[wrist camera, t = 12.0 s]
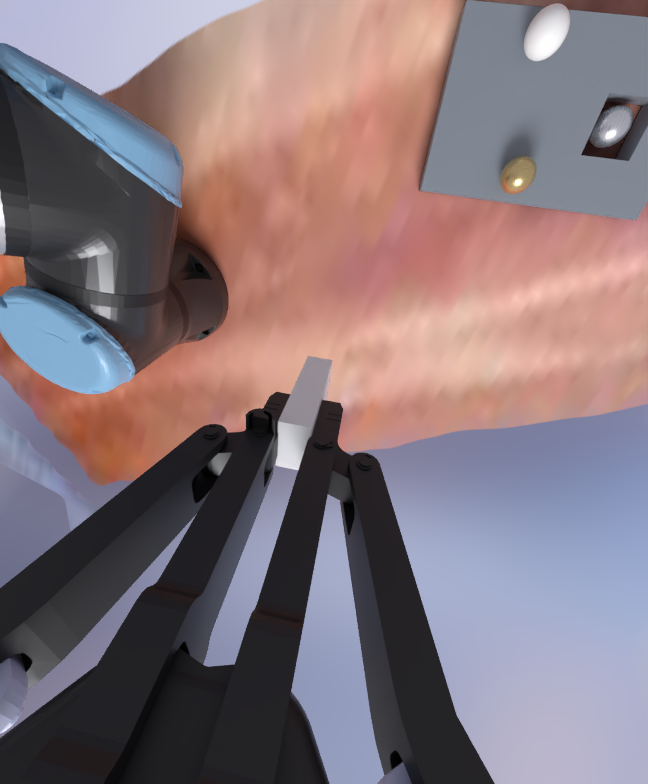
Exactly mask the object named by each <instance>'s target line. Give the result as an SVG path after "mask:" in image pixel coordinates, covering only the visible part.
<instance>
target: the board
mask: <svg viewBox="0 0 648 784" xmlns="http://www.w3.org/2000/svg"><path fill="white" fill-rule="evenodd" d="M544 8H545V7H536V6H526V5H516V4H505V3H495V2H484V1H474V0H467V1H466V3H465V6H464V8H463V10H462V12H461V15H460V20H459V24H458V28H457V32H456V36H455V40H454V45H453V49H452V53H451V57H450V61H449V65H448V70H447V74H446V78H445V82H444V86H443V91H442V95H441V99H440V103H439V107H438V111H437V116H436V120H435V124H434V128H433V132H432V136H431V141H430V145H429V149H428V153H427V157H426V161H425V166H424V170H423V174H422V178H421V182H420V187H419V191H424V192H431V193H439V194H446V195H453V196H460V197H468V198H475V199H482V200H489V201H496V202H504V203H511V204H518V205H525V206H532V207H540V208H547V209H554V210H561V211H569V212H576V213H583V214H590V215H597V216H605V217H612V218H619V219H629V220H637V218H638V217H639V215H640V213H641V212H642V210H643V208H644V206H645V205H646V203H647V201H648V17H641V16H630V15H620V14H610V13H599V12H589V11H578V10H568V11H569V14H570V26H569V30H568V33H567V35H566V38H565V40H564V41H563V43H562V44H561V46H560V47H559V48H558V50H557V51H556V52H555V53H554V54H552V55H551V56H550V57H548V58H546V59H544V60H541V61H532V60H530V59H529V58H528V57H527V56H526V54H525V51H524V38H525V34H526V31H527V29H528V27H529V25H530V23H531V21H532V20H533V19H534V17H535V16H536V15H537V14H538V13H539V12H540V11H541V10H542V9H544ZM605 101H607V102H616V103H625V104H633V105H642V108H641V110H640V112H639V114H638V116H637V118H636V120H635V122H634V124H633V125H632V127H631V129H630V131H629V133H628V135H627V137H626V139H625V141H624V143H623V145H622V147H621V149H620V151H619V153H618V155H617V157H616V159H608V158H600V157H592V156H584V155H581V154H582V152H583V149H584V147H585V145H586V143H587V141H588V139H589V136H590V134H591V132H592V130H593V128H594V125H595V123H596V121H597V119H598V117H599V114H600V112H601V110H602V108H603V106H604V104H605ZM518 156H529V157H531V158H532V159H533V160H534V161H535V163H536V166H537V173H536V176H535V179H534V180H533V182H532V183H531V185H530V186H529V187H528V188H527V189H525V190H524V191H522V192H520V193H517V194H508V193H506V192H504V191H503V190H502V188H501V186H500V175H501V172H502V170H503V168H504V167H505V166H506V164H507V163H508V162H509V161H511V160H512V159H514V158H516V157H518Z"/></svg>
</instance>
